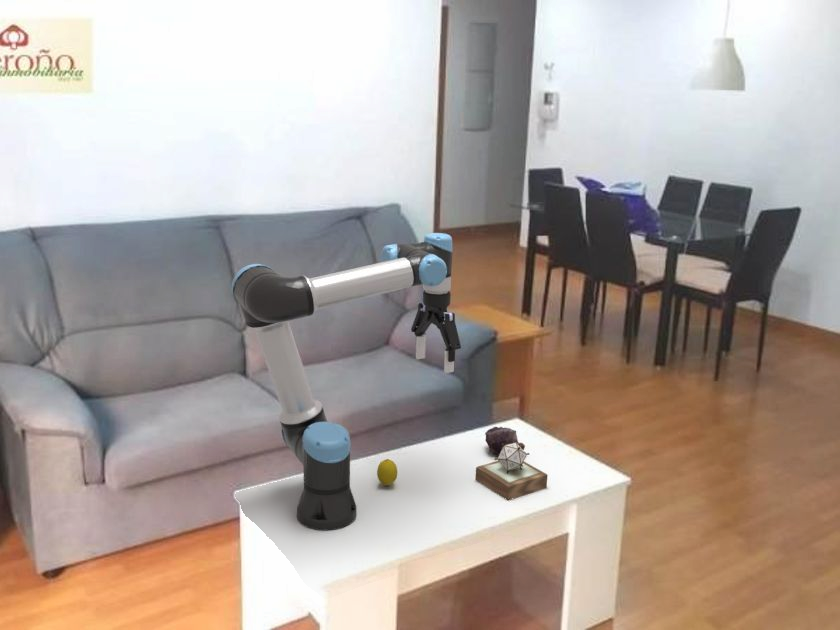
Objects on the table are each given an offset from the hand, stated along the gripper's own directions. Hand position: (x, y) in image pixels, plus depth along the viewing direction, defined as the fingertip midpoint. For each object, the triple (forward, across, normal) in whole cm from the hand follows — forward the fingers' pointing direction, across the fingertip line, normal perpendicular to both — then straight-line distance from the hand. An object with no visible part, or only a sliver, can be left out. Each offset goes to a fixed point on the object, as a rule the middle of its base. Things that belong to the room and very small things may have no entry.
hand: (434, 365), depth 239 cm
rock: (+32, -2, -25) cm, 40 cm away
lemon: (+32, -2, +16) cm, 36 cm away
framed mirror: (+32, -19, -14) cm, 39 cm away
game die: (+28, -19, -14) cm, 36 cm away
